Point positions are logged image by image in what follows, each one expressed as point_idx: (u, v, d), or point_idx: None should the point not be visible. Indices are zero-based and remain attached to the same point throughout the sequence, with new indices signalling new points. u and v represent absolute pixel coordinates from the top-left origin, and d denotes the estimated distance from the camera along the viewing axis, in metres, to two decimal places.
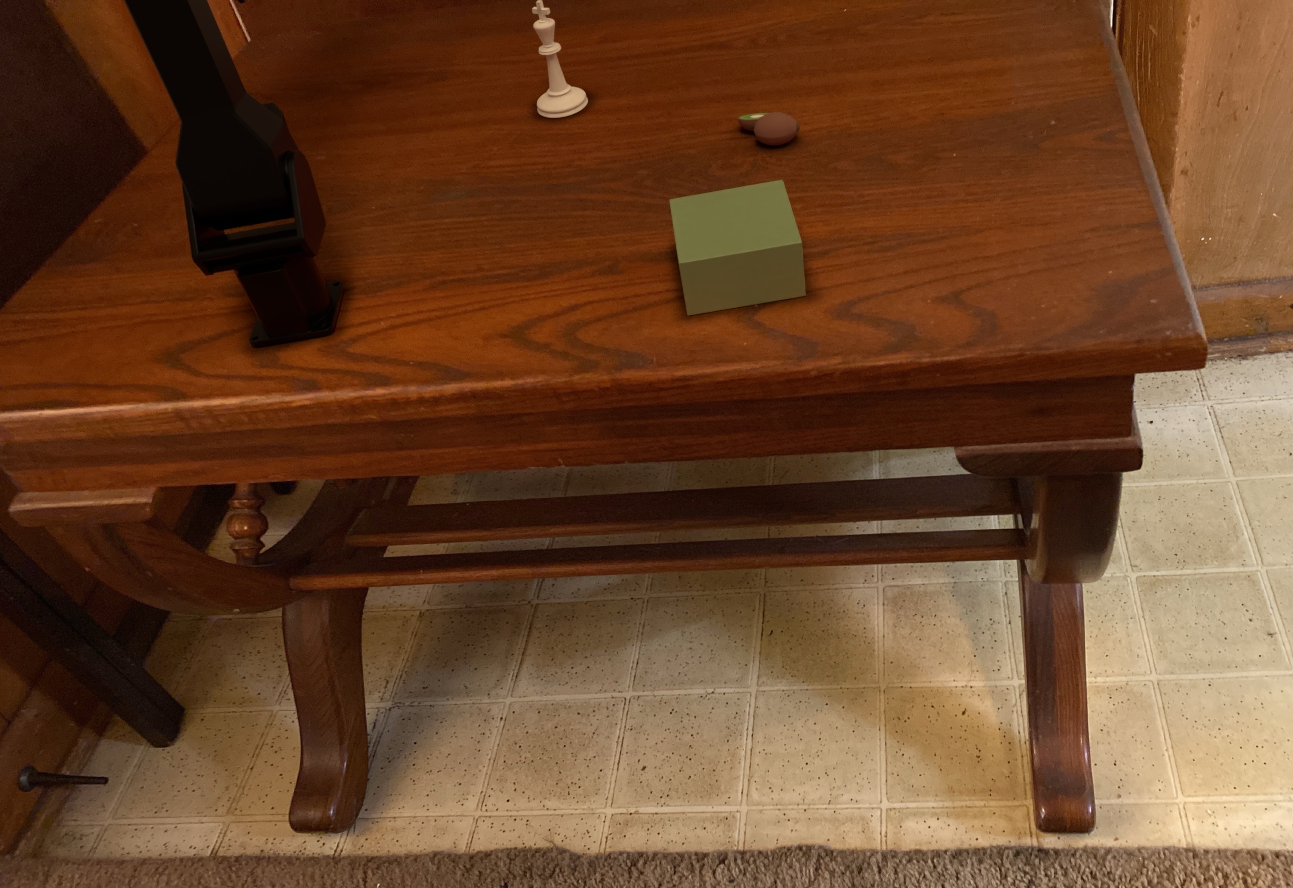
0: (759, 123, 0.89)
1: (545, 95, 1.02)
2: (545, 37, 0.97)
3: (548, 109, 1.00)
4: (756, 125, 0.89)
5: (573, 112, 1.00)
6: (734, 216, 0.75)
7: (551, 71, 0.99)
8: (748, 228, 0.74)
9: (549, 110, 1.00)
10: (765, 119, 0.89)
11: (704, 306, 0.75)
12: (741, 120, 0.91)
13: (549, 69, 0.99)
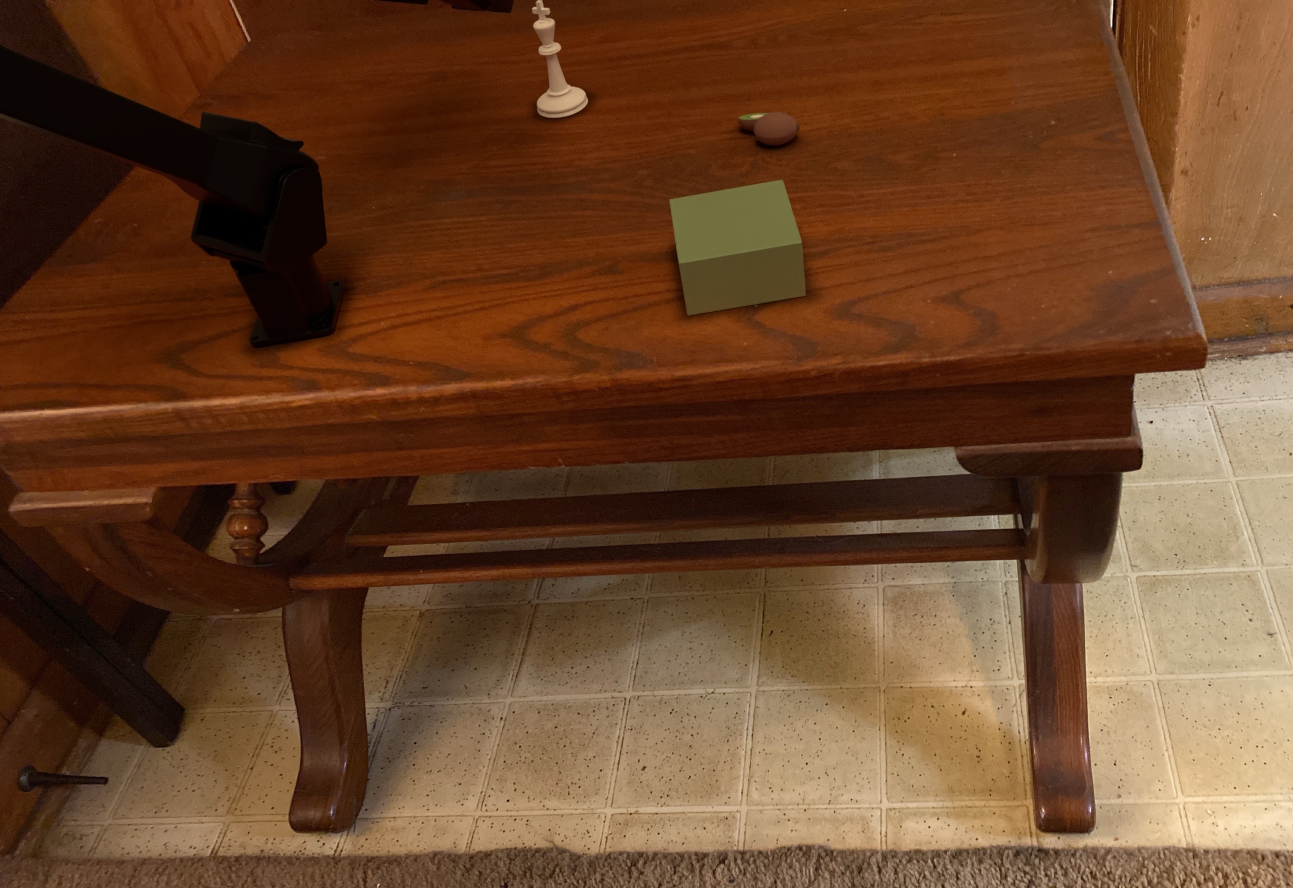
0: (759, 123, 0.89)
1: (545, 95, 1.02)
2: (545, 37, 0.97)
3: (548, 109, 1.00)
4: (756, 125, 0.89)
5: (573, 112, 1.00)
6: (734, 216, 0.75)
7: (551, 71, 0.99)
8: (748, 228, 0.74)
9: (549, 110, 1.00)
10: (765, 119, 0.89)
11: (704, 306, 0.75)
12: (741, 120, 0.91)
13: (549, 69, 0.99)
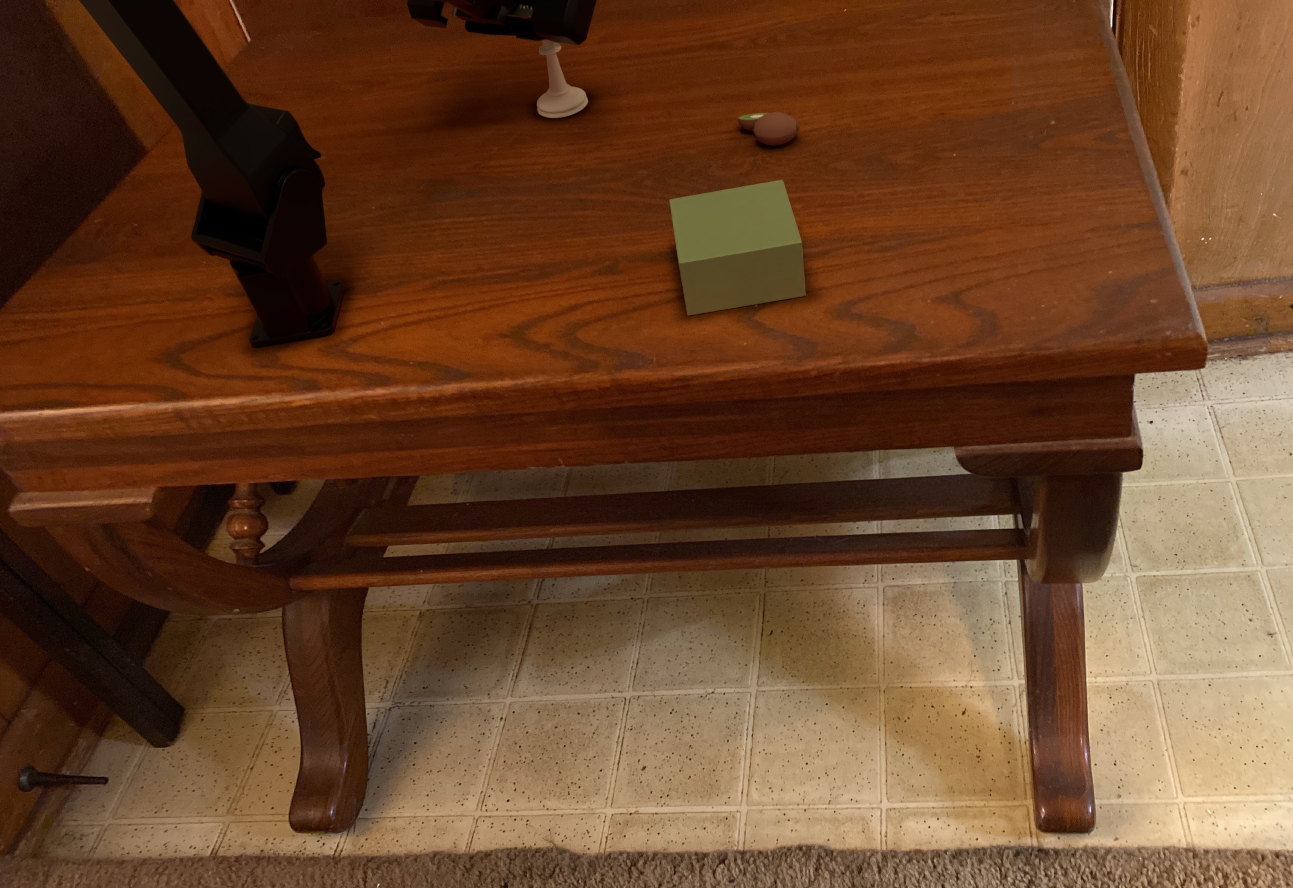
0: (759, 123, 0.89)
1: (545, 95, 1.02)
2: None
3: (548, 109, 1.00)
4: (756, 125, 0.89)
5: (573, 112, 1.00)
6: (734, 216, 0.75)
7: (551, 71, 0.99)
8: (748, 228, 0.74)
9: (549, 110, 1.00)
10: (765, 119, 0.89)
11: (704, 306, 0.75)
12: (741, 120, 0.91)
13: (549, 69, 0.99)
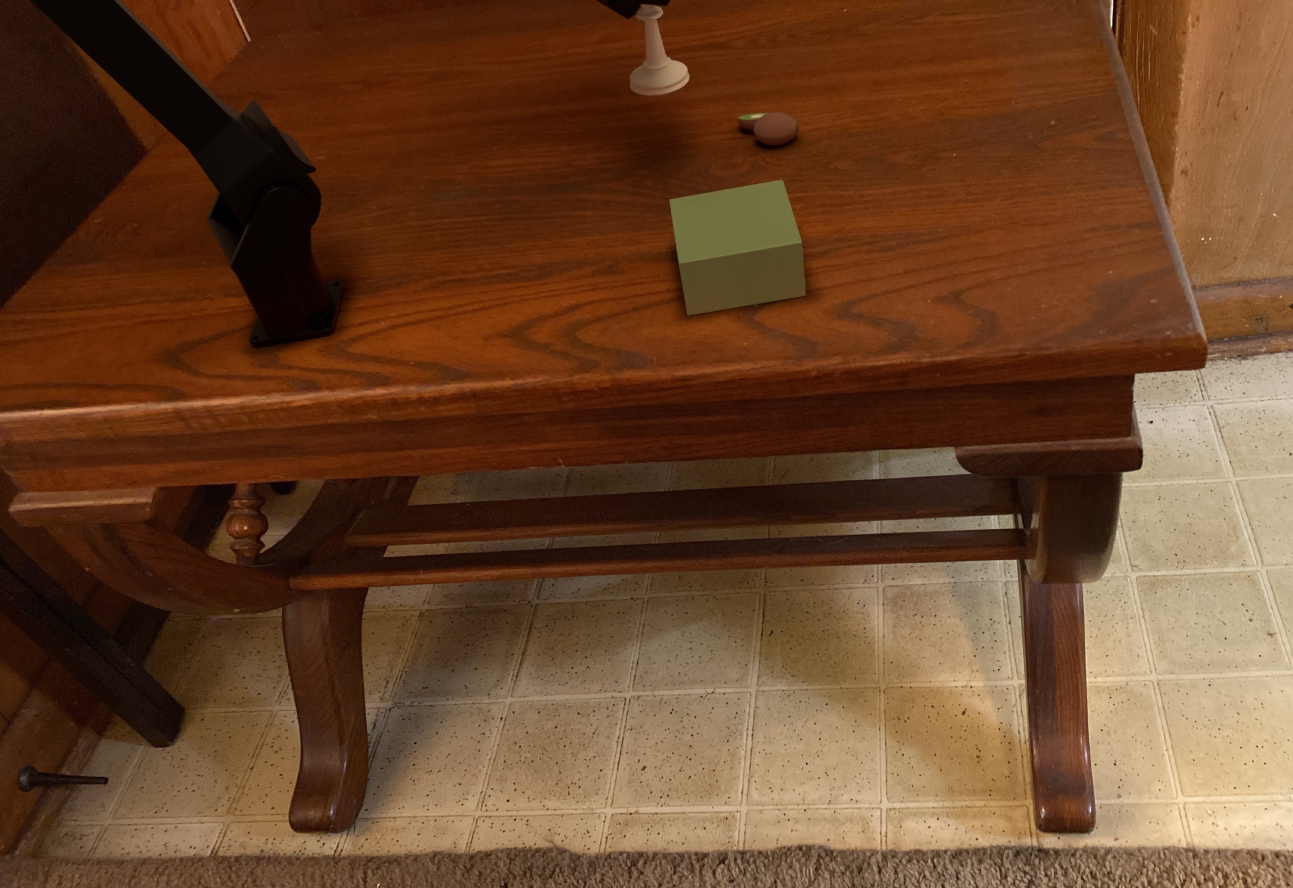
0: (759, 123, 0.89)
1: None
2: None
3: (635, 82, 0.86)
4: (756, 125, 0.89)
5: (660, 92, 0.85)
6: (734, 216, 0.75)
7: (647, 40, 0.85)
8: (748, 228, 0.74)
9: (635, 84, 0.86)
10: (765, 119, 0.89)
11: (704, 306, 0.75)
12: (741, 120, 0.91)
13: (646, 37, 0.85)
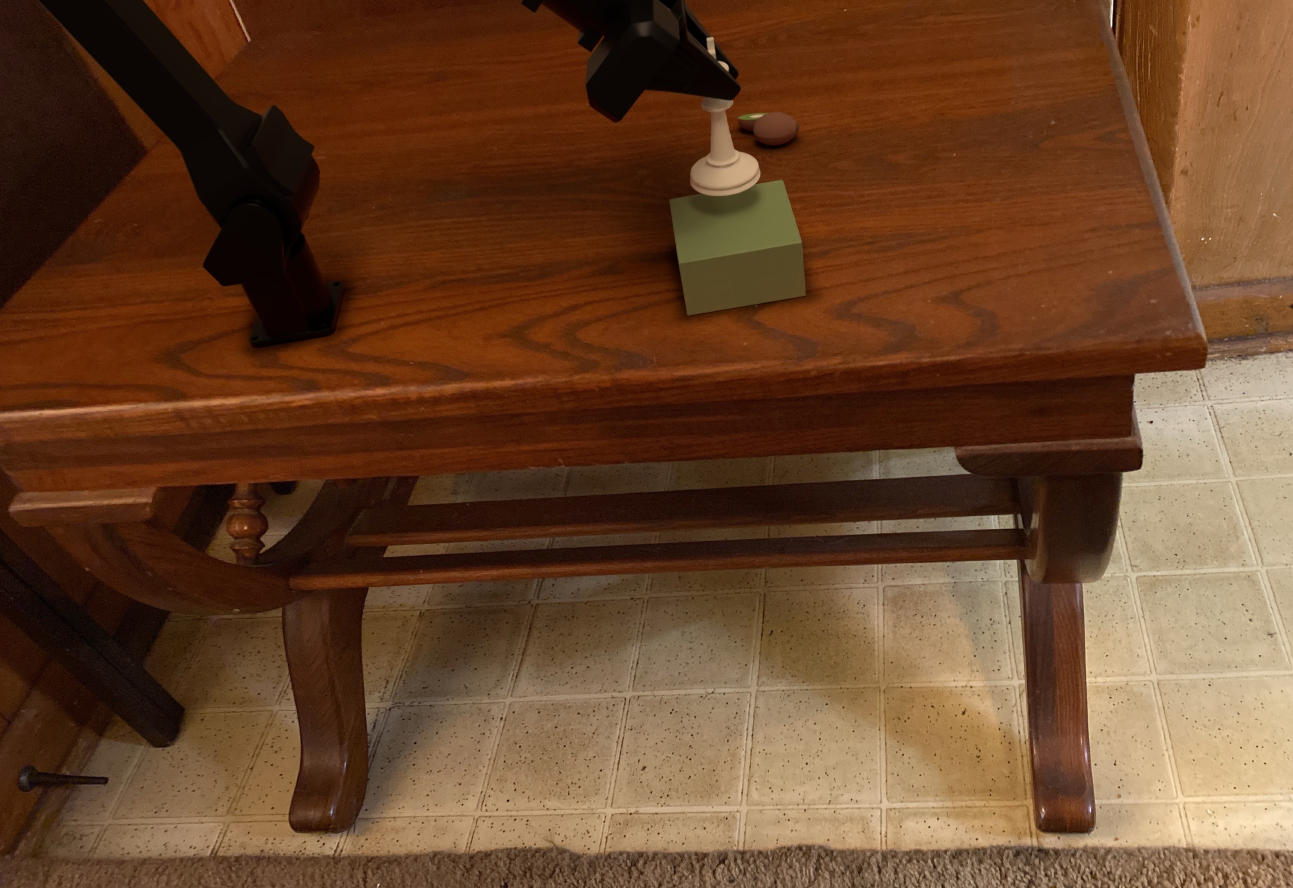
0: (758, 123, 0.89)
1: None
2: None
3: (692, 173, 0.74)
4: (755, 125, 0.89)
5: (710, 193, 0.73)
6: (734, 216, 0.75)
7: (711, 131, 0.72)
8: (748, 228, 0.74)
9: (691, 175, 0.74)
10: (764, 119, 0.89)
11: (704, 306, 0.75)
12: (741, 120, 0.91)
13: (711, 127, 0.72)
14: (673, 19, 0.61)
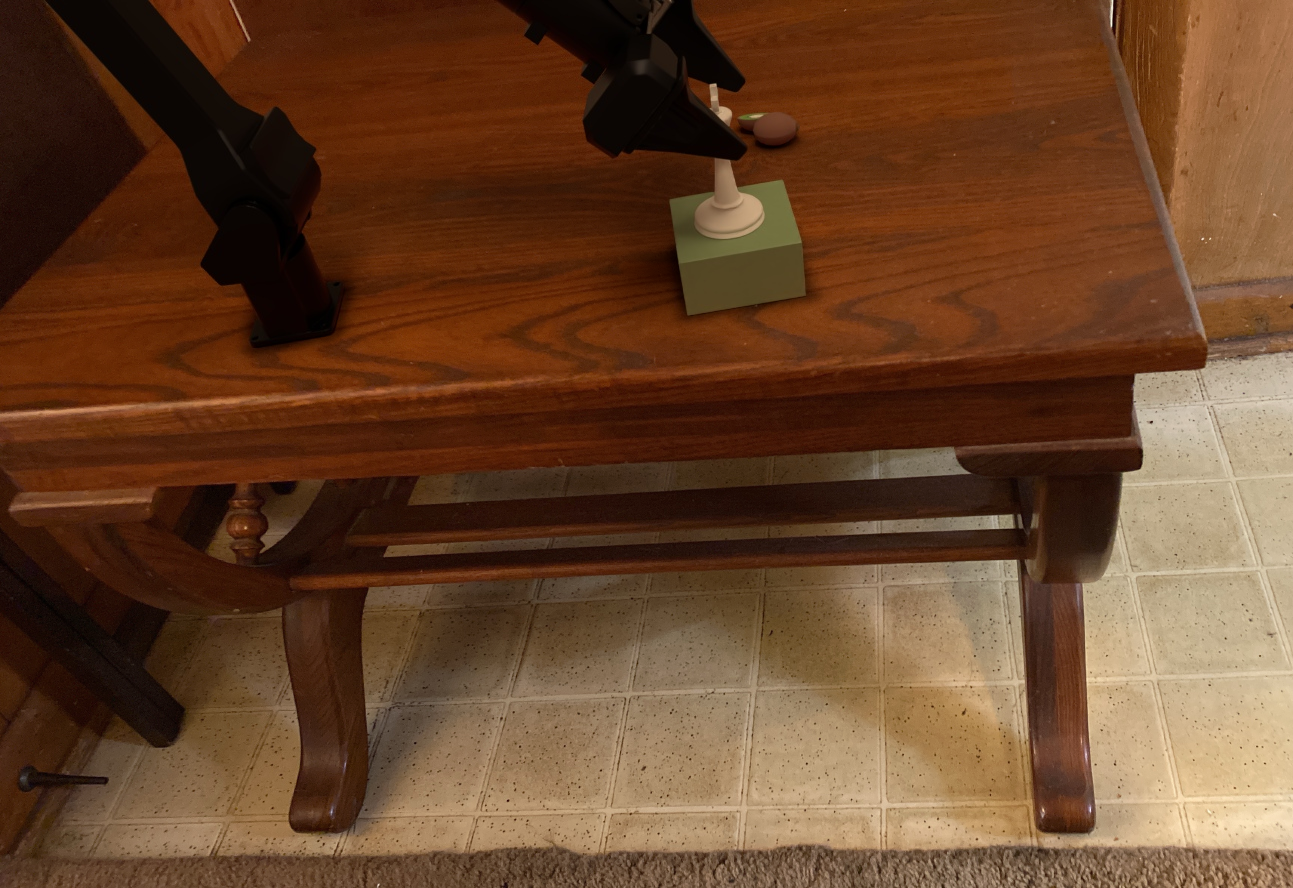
0: (758, 123, 0.89)
1: None
2: None
3: (696, 215, 0.75)
4: (755, 125, 0.89)
5: (713, 236, 0.73)
6: None
7: (715, 174, 0.72)
8: None
9: (695, 217, 0.74)
10: (764, 119, 0.89)
11: (704, 306, 0.75)
12: (740, 120, 0.91)
13: (715, 170, 0.72)
14: (672, 55, 0.60)
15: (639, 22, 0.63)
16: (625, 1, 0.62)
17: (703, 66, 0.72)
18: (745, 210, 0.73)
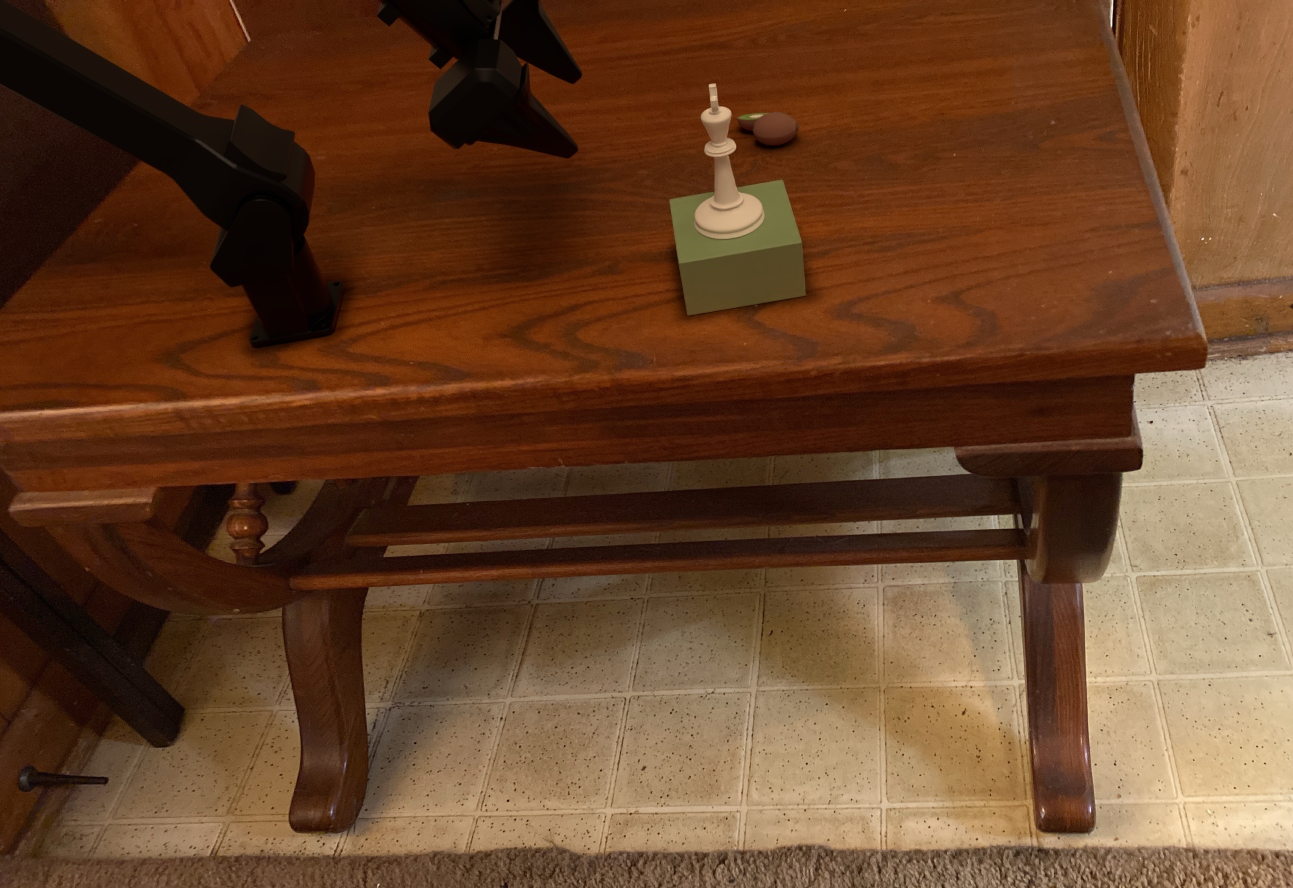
0: (758, 123, 0.89)
1: None
2: (708, 132, 0.70)
3: (696, 215, 0.75)
4: (755, 125, 0.89)
5: (713, 236, 0.73)
6: None
7: (715, 174, 0.72)
8: None
9: (695, 217, 0.74)
10: (764, 119, 0.89)
11: (704, 306, 0.75)
12: (740, 120, 0.91)
13: None
14: (517, 63, 0.65)
15: (488, 22, 0.67)
16: (477, 2, 0.66)
17: (544, 56, 0.77)
18: (745, 210, 0.73)
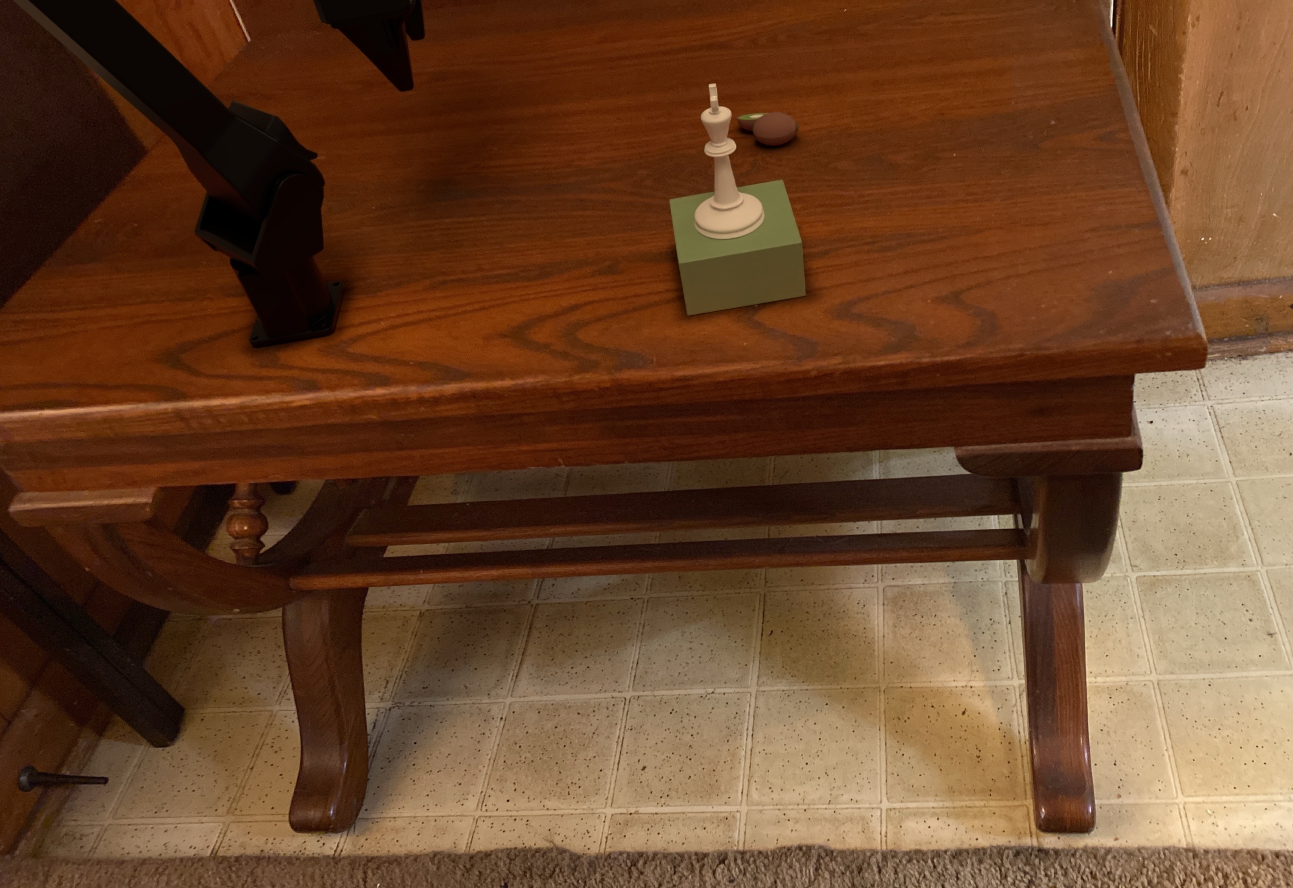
0: (758, 123, 0.89)
1: None
2: (708, 132, 0.70)
3: (696, 215, 0.75)
4: (755, 125, 0.89)
5: (713, 236, 0.73)
6: None
7: (715, 174, 0.72)
8: None
9: (695, 217, 0.74)
10: (764, 119, 0.89)
11: (704, 306, 0.75)
12: (740, 120, 0.91)
13: None
14: None
15: None
16: None
17: None
18: (745, 210, 0.73)
